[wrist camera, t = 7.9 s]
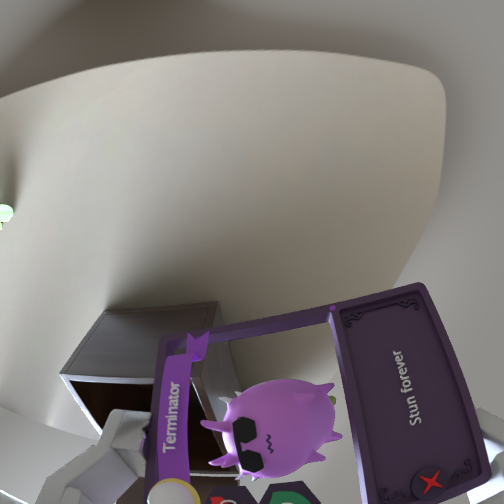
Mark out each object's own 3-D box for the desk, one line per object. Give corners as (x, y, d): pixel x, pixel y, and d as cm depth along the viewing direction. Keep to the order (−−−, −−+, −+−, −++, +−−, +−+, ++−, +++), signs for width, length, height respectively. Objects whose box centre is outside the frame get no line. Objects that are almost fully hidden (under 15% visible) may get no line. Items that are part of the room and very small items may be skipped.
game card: (505, 475, 4) (127, 528, 5) (445, 493, 7) (205, 529, 9) (425, 265, 9) (150, 323, 10) (407, 347, 12) (207, 386, 14)
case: (103, 311, 33) (58, 373, 23) (218, 301, 32) (200, 376, 22) (147, 404, 39) (125, 466, 29) (244, 403, 38) (239, 474, 28)
